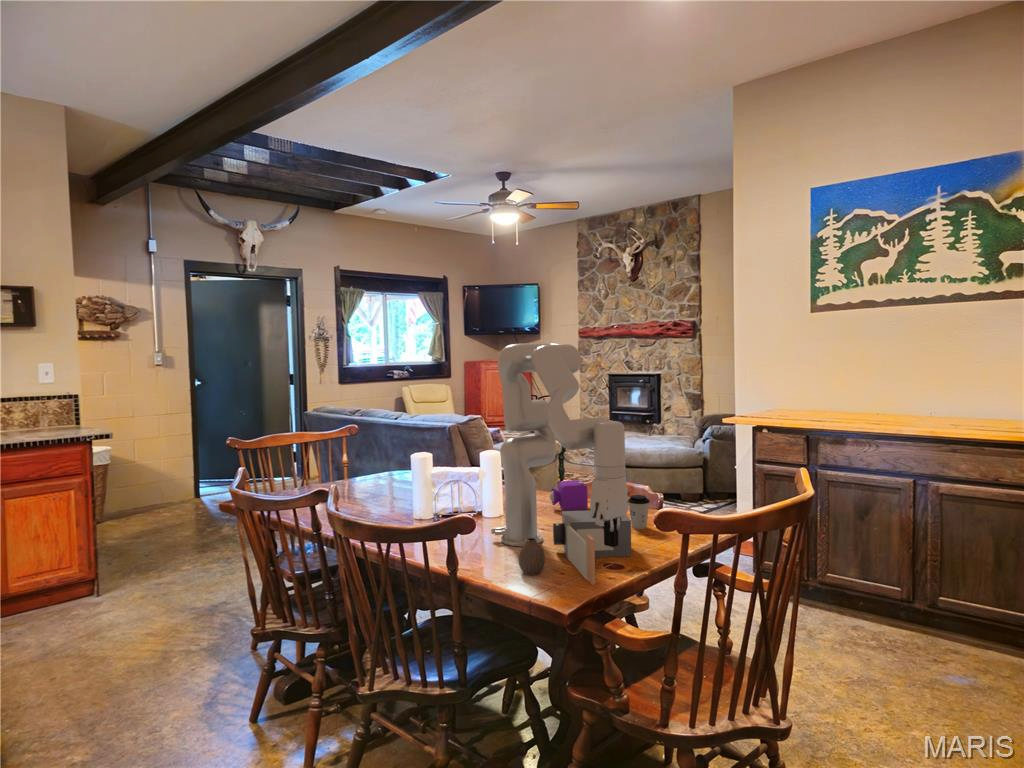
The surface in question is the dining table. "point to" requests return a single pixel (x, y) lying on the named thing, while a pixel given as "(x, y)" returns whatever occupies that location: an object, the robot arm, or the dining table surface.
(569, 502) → the toy camera
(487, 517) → the dining table surface
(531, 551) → the vase
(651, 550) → the dining table surface
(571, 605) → the dining table surface
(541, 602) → the dining table surface
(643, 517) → the coffee cup
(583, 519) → the camera housing
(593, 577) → the door
